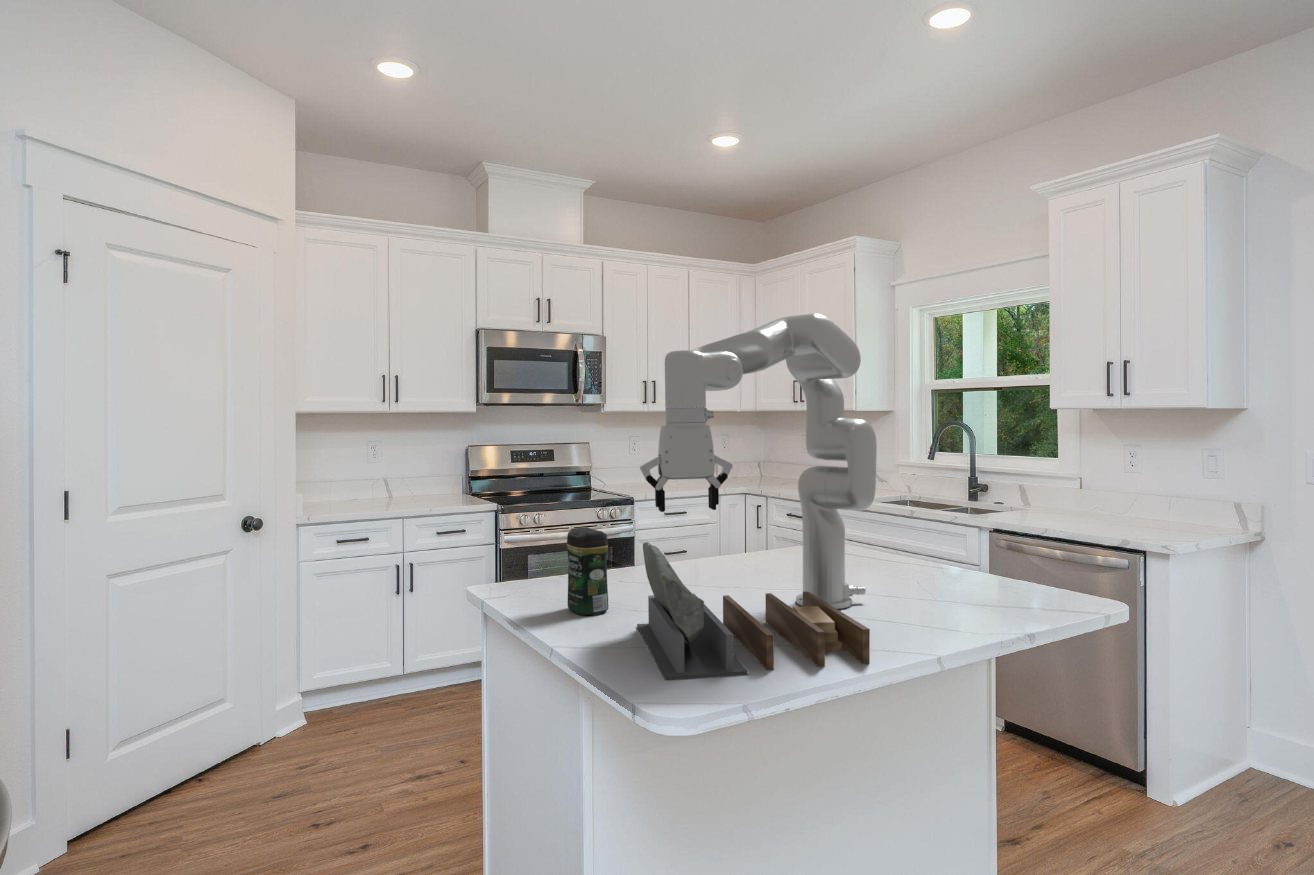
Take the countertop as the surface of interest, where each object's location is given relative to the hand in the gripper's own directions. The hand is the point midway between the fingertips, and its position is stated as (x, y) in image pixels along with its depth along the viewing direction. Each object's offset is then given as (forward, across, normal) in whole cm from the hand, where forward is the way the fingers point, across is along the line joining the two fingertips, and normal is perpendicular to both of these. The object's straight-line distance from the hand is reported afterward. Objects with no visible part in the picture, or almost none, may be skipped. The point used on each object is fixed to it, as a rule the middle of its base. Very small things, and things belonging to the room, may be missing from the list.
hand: (687, 509), depth 140 cm
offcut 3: (+27, -25, 0) cm, 37 cm away
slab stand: (+26, +1, 0) cm, 26 cm away
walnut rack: (+26, -20, 0) cm, 33 cm away
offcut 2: (+25, -25, 0) cm, 35 cm away
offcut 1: (+23, -24, 0) cm, 33 cm away
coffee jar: (+26, +17, -31) cm, 44 cm away
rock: (+25, 0, 0) cm, 25 cm away
